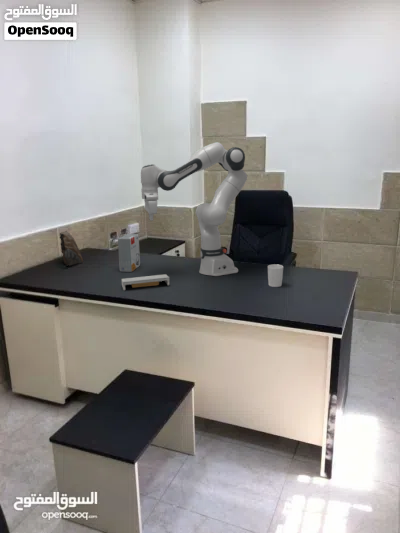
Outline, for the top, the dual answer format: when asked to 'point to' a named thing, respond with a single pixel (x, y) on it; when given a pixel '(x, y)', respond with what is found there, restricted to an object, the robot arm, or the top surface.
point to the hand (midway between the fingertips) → (151, 220)
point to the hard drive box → (129, 252)
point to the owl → (70, 249)
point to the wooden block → (145, 284)
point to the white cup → (275, 275)
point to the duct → (131, 284)
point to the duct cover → (145, 279)
